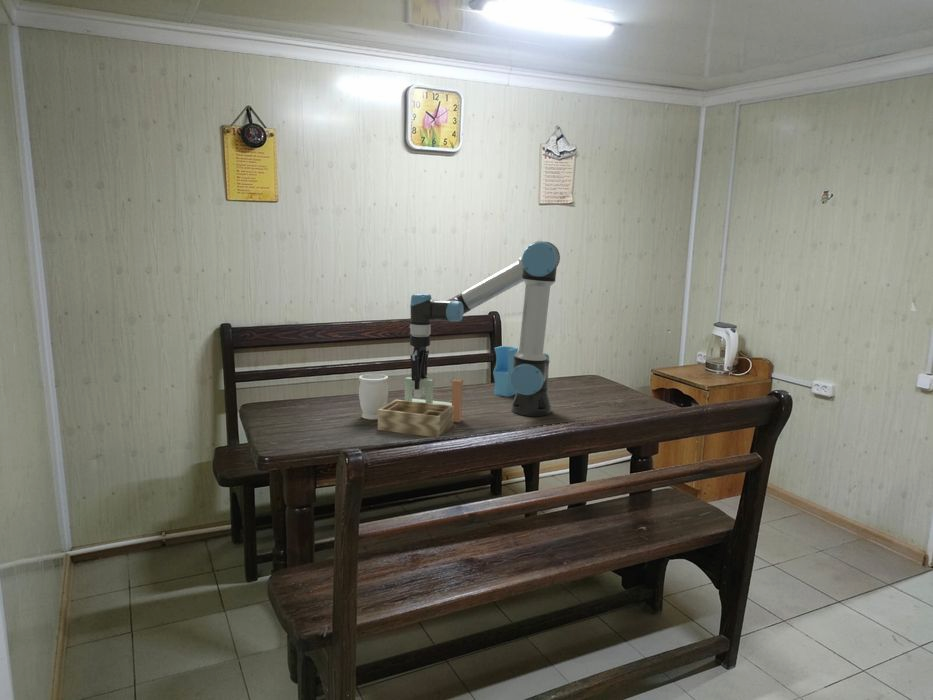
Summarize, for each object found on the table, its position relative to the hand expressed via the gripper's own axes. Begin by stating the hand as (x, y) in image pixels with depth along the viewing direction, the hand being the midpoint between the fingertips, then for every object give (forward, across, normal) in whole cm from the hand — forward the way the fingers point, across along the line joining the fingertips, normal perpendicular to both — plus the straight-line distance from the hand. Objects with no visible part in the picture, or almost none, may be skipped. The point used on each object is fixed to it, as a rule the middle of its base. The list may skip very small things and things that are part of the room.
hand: (419, 396), depth 239 cm
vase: (+6, -39, +24) cm, 46 cm away
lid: (+4, 0, +3) cm, 5 cm away
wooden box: (+5, +21, +7) cm, 23 cm away
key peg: (+5, +8, +18) cm, 20 cm away
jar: (+6, +15, -12) cm, 20 cm away
